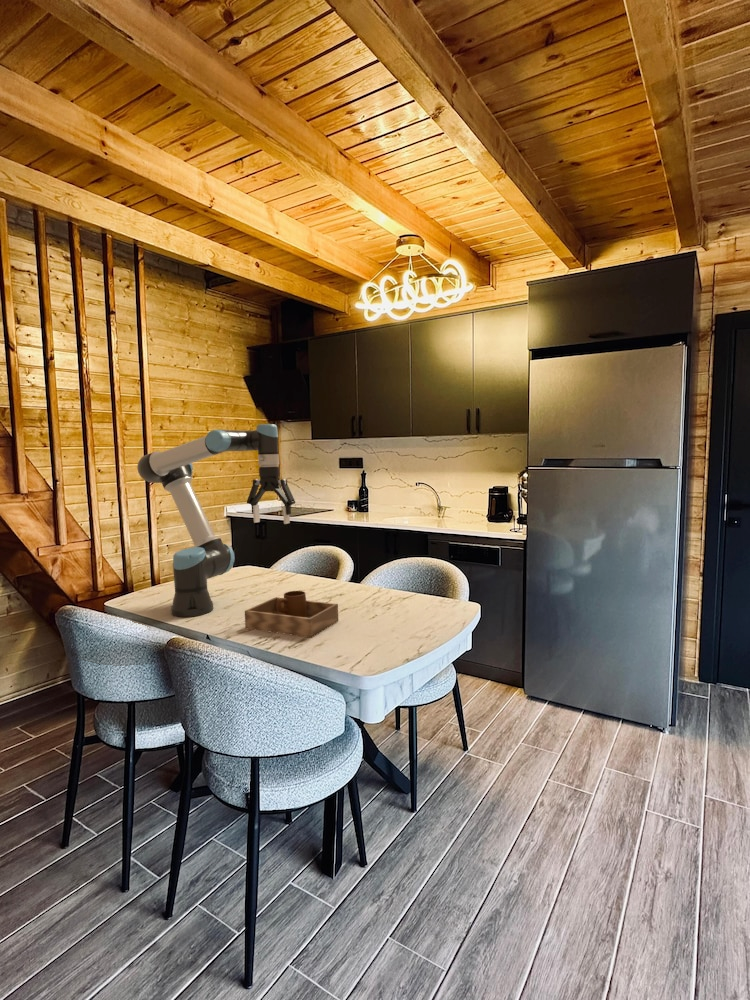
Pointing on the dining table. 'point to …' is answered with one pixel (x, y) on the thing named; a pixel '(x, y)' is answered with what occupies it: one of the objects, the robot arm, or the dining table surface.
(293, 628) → the crate
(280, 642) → the dining table surface
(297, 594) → the mug
